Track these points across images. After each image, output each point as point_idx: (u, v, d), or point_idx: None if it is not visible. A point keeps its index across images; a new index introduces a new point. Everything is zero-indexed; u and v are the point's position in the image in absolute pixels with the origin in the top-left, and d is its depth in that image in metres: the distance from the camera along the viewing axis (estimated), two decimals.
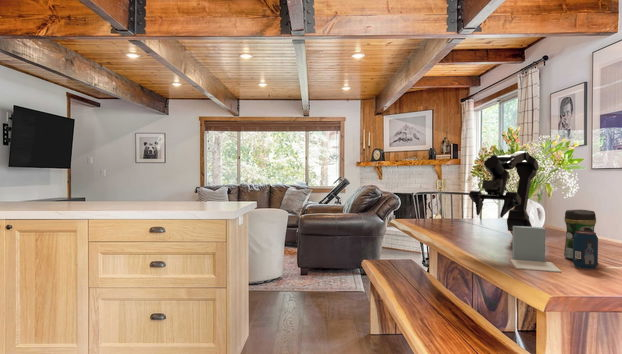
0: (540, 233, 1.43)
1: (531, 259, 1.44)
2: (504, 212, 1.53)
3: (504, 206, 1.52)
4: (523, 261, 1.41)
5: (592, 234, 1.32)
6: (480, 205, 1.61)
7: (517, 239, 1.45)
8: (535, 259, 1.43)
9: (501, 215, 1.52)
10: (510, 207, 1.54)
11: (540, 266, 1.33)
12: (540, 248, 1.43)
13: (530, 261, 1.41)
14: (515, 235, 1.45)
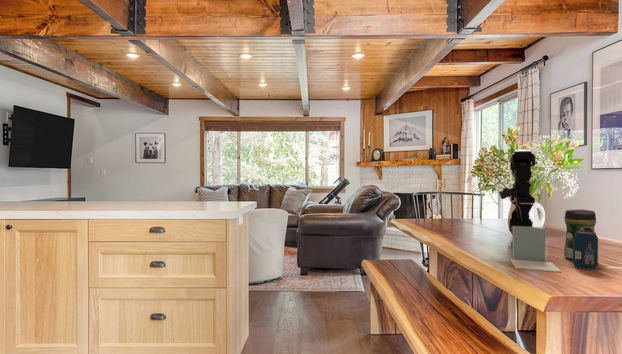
0: (540, 233, 1.43)
1: (531, 259, 1.44)
2: (523, 215, 1.56)
3: (520, 211, 1.56)
4: (523, 261, 1.41)
5: (592, 234, 1.32)
6: None
7: (517, 239, 1.45)
8: (535, 259, 1.43)
9: (522, 220, 1.57)
10: (529, 208, 1.54)
11: (540, 266, 1.33)
12: (540, 248, 1.43)
13: (530, 261, 1.41)
14: (515, 235, 1.45)
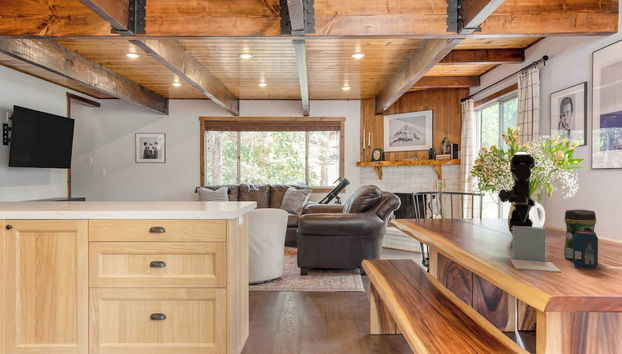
0: (540, 233, 1.43)
1: (531, 259, 1.44)
2: (522, 217, 1.58)
3: None
4: (523, 261, 1.41)
5: (592, 234, 1.32)
6: None
7: (517, 239, 1.45)
8: (535, 259, 1.43)
9: (520, 221, 1.59)
10: (526, 208, 1.57)
11: (540, 266, 1.33)
12: (540, 248, 1.43)
13: (530, 261, 1.41)
14: (515, 235, 1.45)
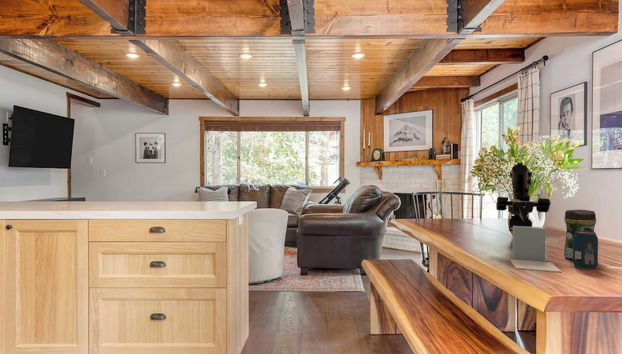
0: (540, 233, 1.43)
1: (531, 259, 1.44)
2: (521, 216, 1.56)
3: None
4: (523, 261, 1.41)
5: (592, 234, 1.32)
6: (524, 210, 1.56)
7: (517, 239, 1.45)
8: (535, 259, 1.43)
9: (523, 220, 1.55)
10: (518, 207, 1.57)
11: (540, 266, 1.33)
12: (540, 248, 1.43)
13: (530, 261, 1.41)
14: (515, 235, 1.45)
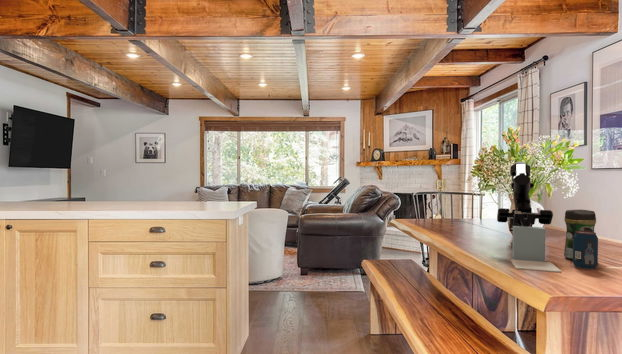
0: (540, 233, 1.43)
1: (531, 259, 1.44)
2: None
3: None
4: (523, 261, 1.41)
5: (592, 234, 1.32)
6: (526, 222, 1.52)
7: (517, 239, 1.45)
8: (535, 259, 1.43)
9: None
10: (519, 219, 1.52)
11: (540, 266, 1.33)
12: (540, 248, 1.43)
13: (530, 261, 1.41)
14: (515, 235, 1.45)
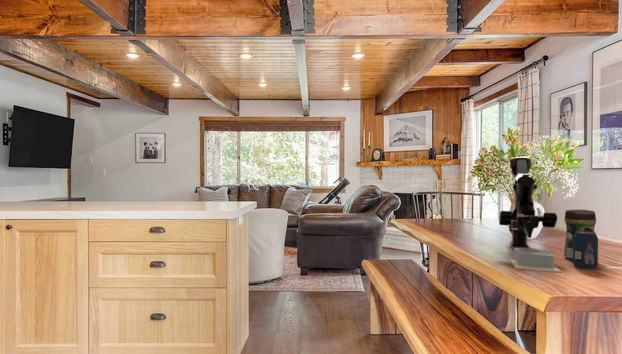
0: None
1: None
2: (526, 232, 1.45)
3: None
4: None
5: (592, 234, 1.32)
6: (529, 225, 1.46)
7: None
8: None
9: (528, 236, 1.44)
10: (522, 222, 1.47)
11: None
12: None
13: None
14: None
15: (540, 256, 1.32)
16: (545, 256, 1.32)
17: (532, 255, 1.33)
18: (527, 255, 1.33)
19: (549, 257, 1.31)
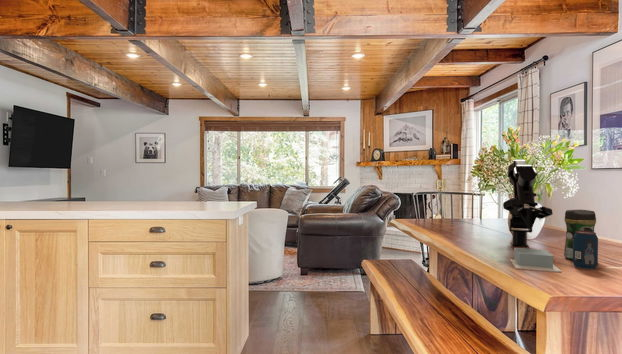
0: None
1: None
2: (527, 222, 1.55)
3: None
4: None
5: (592, 234, 1.32)
6: None
7: None
8: None
9: (528, 227, 1.55)
10: (527, 213, 1.55)
11: None
12: None
13: None
14: None
15: (540, 256, 1.32)
16: (545, 256, 1.32)
17: (532, 255, 1.33)
18: (527, 255, 1.33)
19: (549, 257, 1.31)
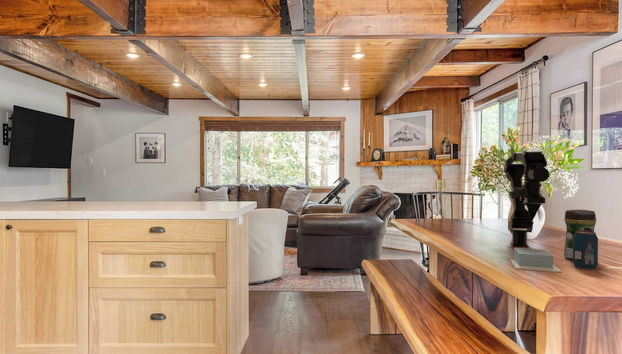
0: None
1: None
2: (532, 214, 1.61)
3: (528, 210, 1.61)
4: None
5: (592, 234, 1.32)
6: None
7: None
8: None
9: (530, 218, 1.62)
10: (537, 207, 1.59)
11: None
12: None
13: None
14: None
15: (540, 256, 1.32)
16: (545, 256, 1.32)
17: (532, 255, 1.33)
18: (527, 255, 1.33)
19: (549, 257, 1.31)
